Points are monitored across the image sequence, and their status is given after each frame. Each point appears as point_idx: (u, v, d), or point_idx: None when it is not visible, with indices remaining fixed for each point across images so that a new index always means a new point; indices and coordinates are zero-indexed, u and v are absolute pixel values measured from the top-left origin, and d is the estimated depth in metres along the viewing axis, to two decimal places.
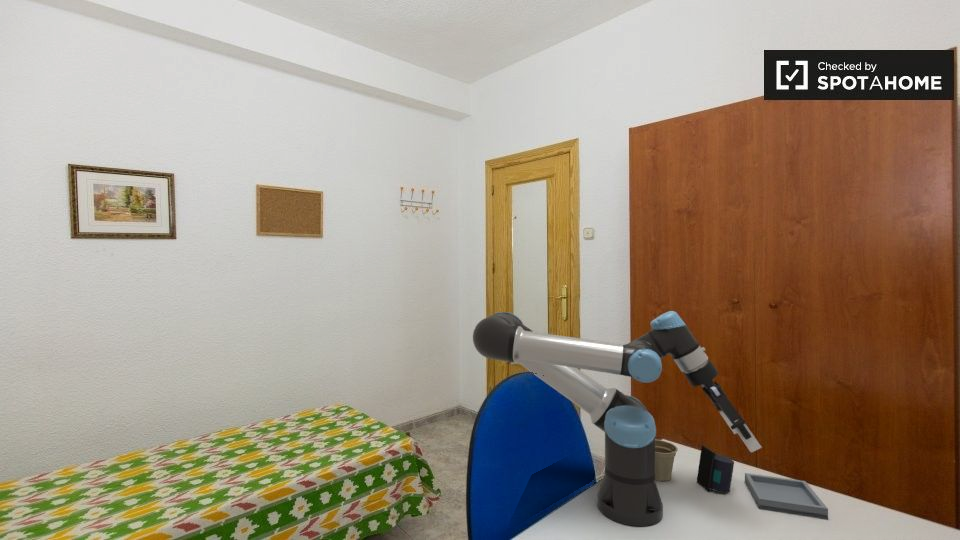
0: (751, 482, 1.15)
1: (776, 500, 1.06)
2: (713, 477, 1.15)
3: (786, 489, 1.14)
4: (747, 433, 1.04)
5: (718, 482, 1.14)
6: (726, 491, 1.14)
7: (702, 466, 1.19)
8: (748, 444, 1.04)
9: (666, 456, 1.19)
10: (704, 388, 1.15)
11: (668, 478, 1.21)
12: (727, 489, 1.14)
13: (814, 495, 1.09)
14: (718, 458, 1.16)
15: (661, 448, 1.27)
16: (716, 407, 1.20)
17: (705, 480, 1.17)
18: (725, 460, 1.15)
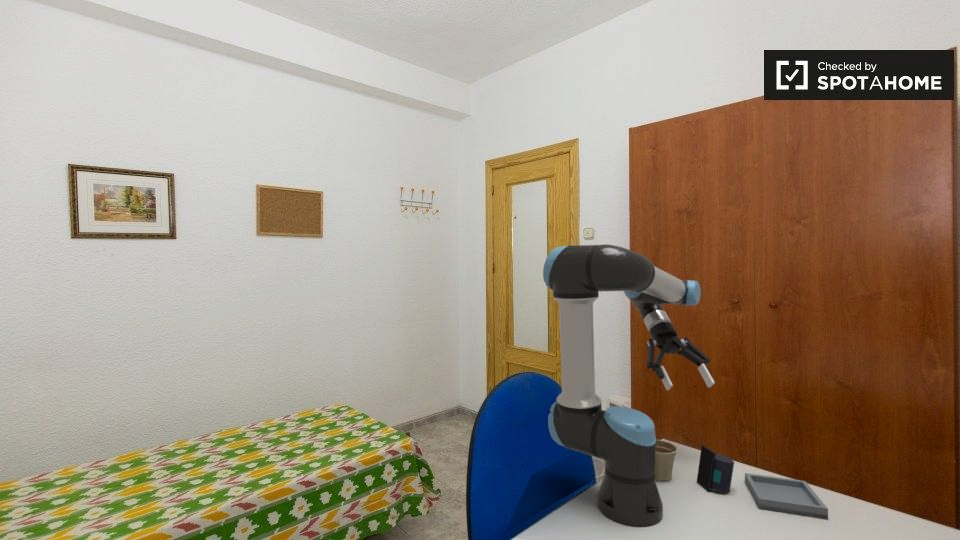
0: (751, 482, 1.15)
1: (776, 500, 1.06)
2: (713, 477, 1.15)
3: (786, 489, 1.14)
4: None
5: (718, 482, 1.14)
6: (726, 491, 1.14)
7: (702, 466, 1.19)
8: None
9: (666, 456, 1.19)
10: None
11: (668, 478, 1.21)
12: (727, 489, 1.14)
13: (814, 495, 1.09)
14: (718, 458, 1.16)
15: (661, 448, 1.27)
16: (657, 363, 1.30)
17: (705, 480, 1.17)
18: (725, 460, 1.15)
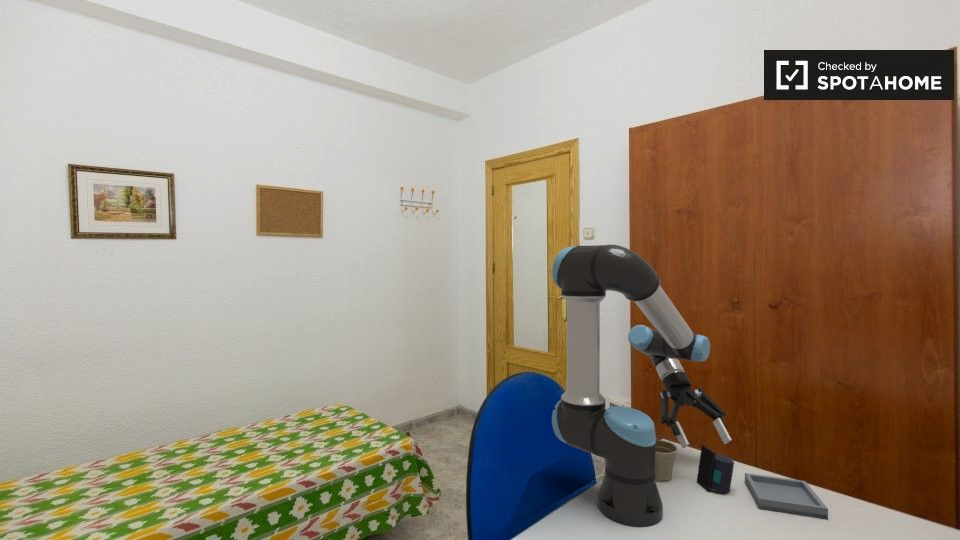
0: (751, 482, 1.15)
1: (776, 500, 1.06)
2: (713, 477, 1.15)
3: (786, 489, 1.14)
4: None
5: (718, 482, 1.14)
6: (726, 491, 1.14)
7: (702, 466, 1.19)
8: None
9: (666, 456, 1.19)
10: None
11: (668, 478, 1.21)
12: (727, 489, 1.14)
13: (814, 495, 1.09)
14: (718, 458, 1.16)
15: (661, 448, 1.27)
16: (671, 418, 1.25)
17: (705, 480, 1.17)
18: (725, 460, 1.15)
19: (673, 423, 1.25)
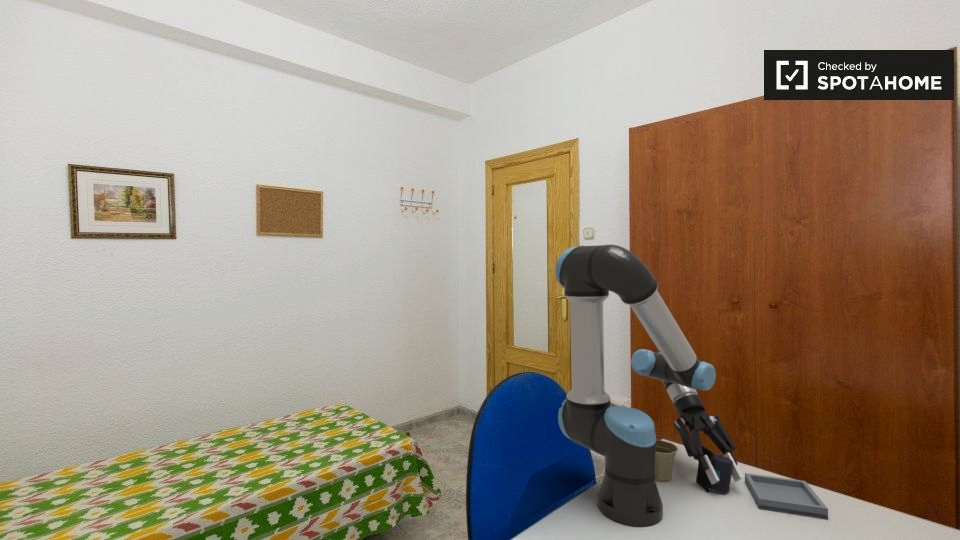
0: (751, 482, 1.15)
1: (776, 500, 1.06)
2: None
3: (786, 489, 1.14)
4: None
5: (717, 482, 1.14)
6: (725, 491, 1.14)
7: None
8: None
9: (666, 456, 1.19)
10: (694, 416, 1.24)
11: (668, 478, 1.21)
12: (726, 489, 1.14)
13: (814, 495, 1.09)
14: (717, 458, 1.16)
15: (661, 448, 1.27)
16: (699, 452, 1.17)
17: (704, 480, 1.17)
18: (724, 460, 1.15)
19: (702, 456, 1.17)
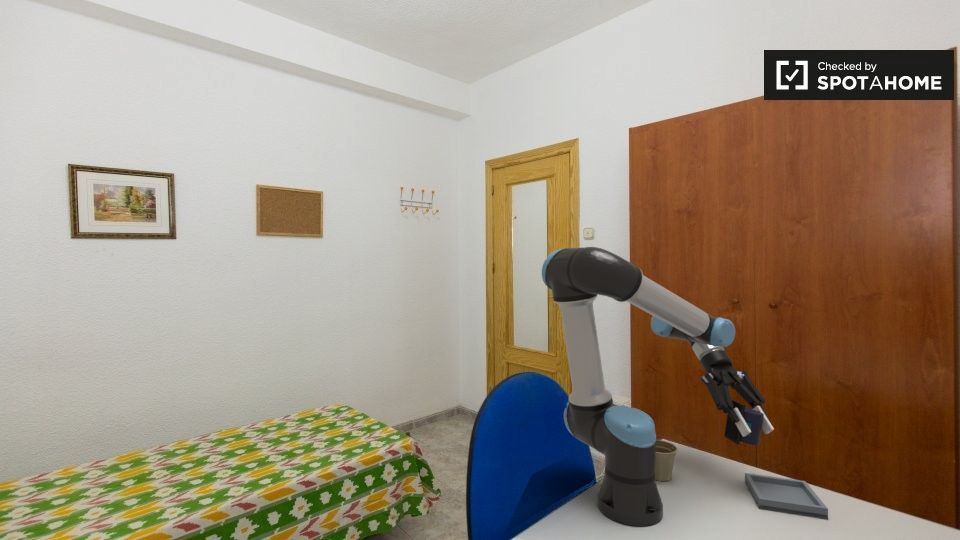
0: (751, 482, 1.15)
1: (776, 500, 1.06)
2: None
3: (786, 489, 1.14)
4: None
5: None
6: (756, 443, 1.12)
7: (730, 420, 1.17)
8: None
9: (666, 456, 1.19)
10: (722, 371, 1.23)
11: (668, 478, 1.21)
12: (757, 441, 1.12)
13: (814, 495, 1.09)
14: (747, 411, 1.14)
15: (661, 448, 1.27)
16: (729, 405, 1.15)
17: (733, 433, 1.15)
18: (755, 412, 1.13)
19: (732, 409, 1.15)
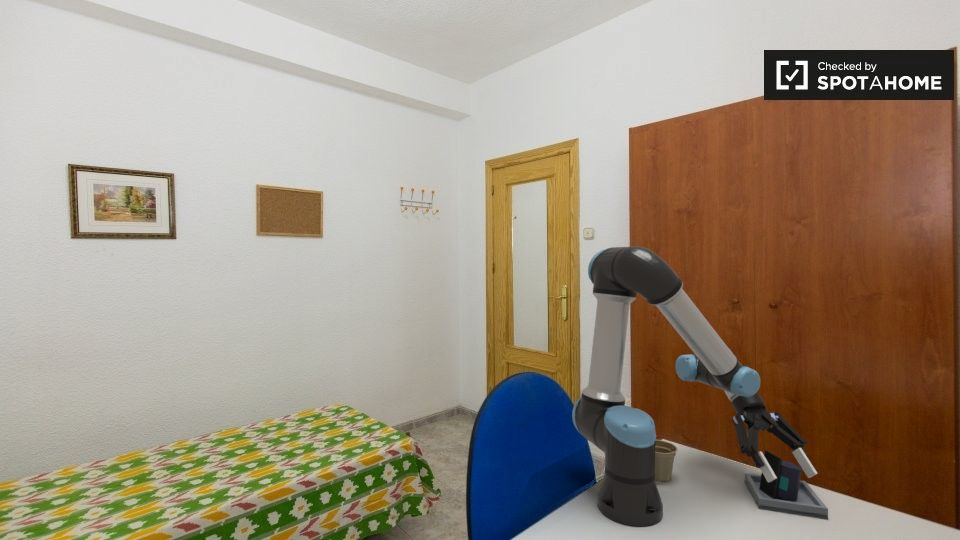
0: (751, 482, 1.15)
1: (776, 500, 1.06)
2: (779, 484, 1.09)
3: None
4: None
5: (785, 489, 1.08)
6: (794, 499, 1.08)
7: None
8: None
9: (666, 456, 1.19)
10: None
11: (668, 478, 1.21)
12: (795, 497, 1.08)
13: (814, 495, 1.09)
14: (784, 464, 1.10)
15: (661, 448, 1.27)
16: (753, 448, 1.12)
17: (769, 487, 1.11)
18: (792, 466, 1.09)
19: (756, 453, 1.11)
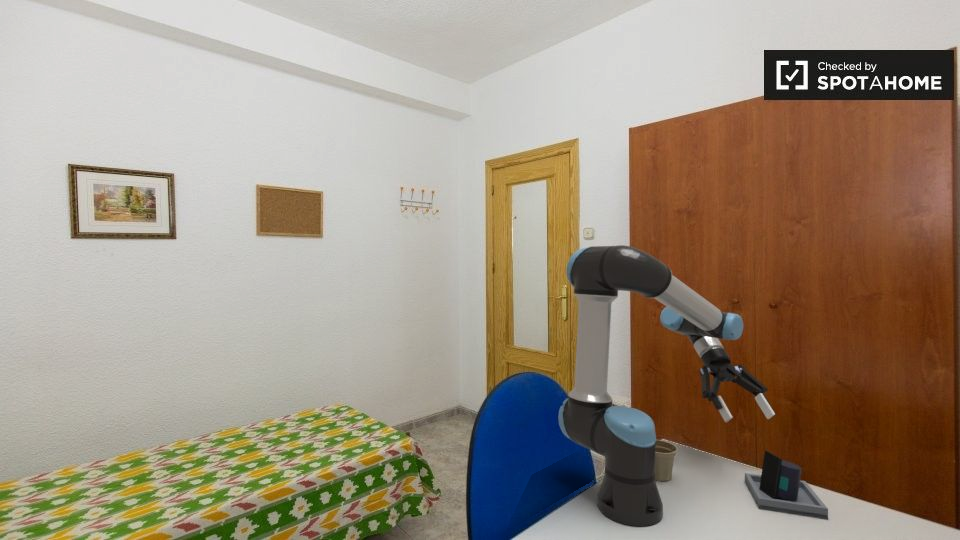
0: (751, 482, 1.15)
1: (776, 500, 1.06)
2: (779, 484, 1.09)
3: None
4: None
5: (785, 489, 1.08)
6: (794, 499, 1.08)
7: (765, 473, 1.13)
8: None
9: (666, 456, 1.19)
10: None
11: (668, 478, 1.21)
12: (795, 497, 1.08)
13: (814, 495, 1.09)
14: (784, 464, 1.10)
15: (661, 448, 1.27)
16: (713, 393, 1.24)
17: (769, 487, 1.11)
18: (792, 466, 1.09)
19: (715, 397, 1.24)
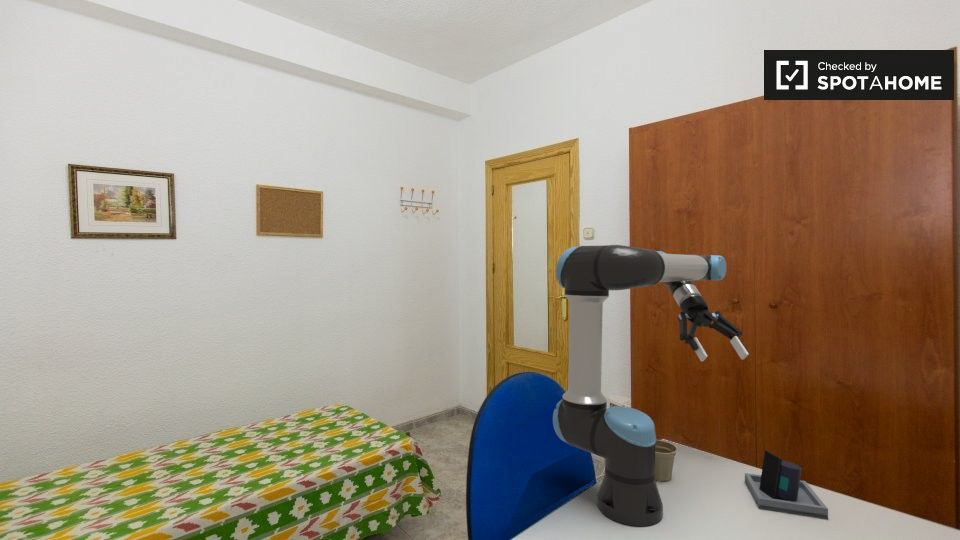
0: (751, 482, 1.15)
1: (776, 500, 1.06)
2: (779, 484, 1.09)
3: None
4: None
5: (785, 489, 1.08)
6: (794, 499, 1.08)
7: (765, 473, 1.13)
8: None
9: (666, 456, 1.19)
10: None
11: (668, 478, 1.21)
12: (795, 497, 1.08)
13: (814, 495, 1.09)
14: (784, 464, 1.10)
15: (661, 448, 1.27)
16: (690, 335, 1.30)
17: (769, 487, 1.11)
18: (792, 466, 1.09)
19: (692, 339, 1.29)
